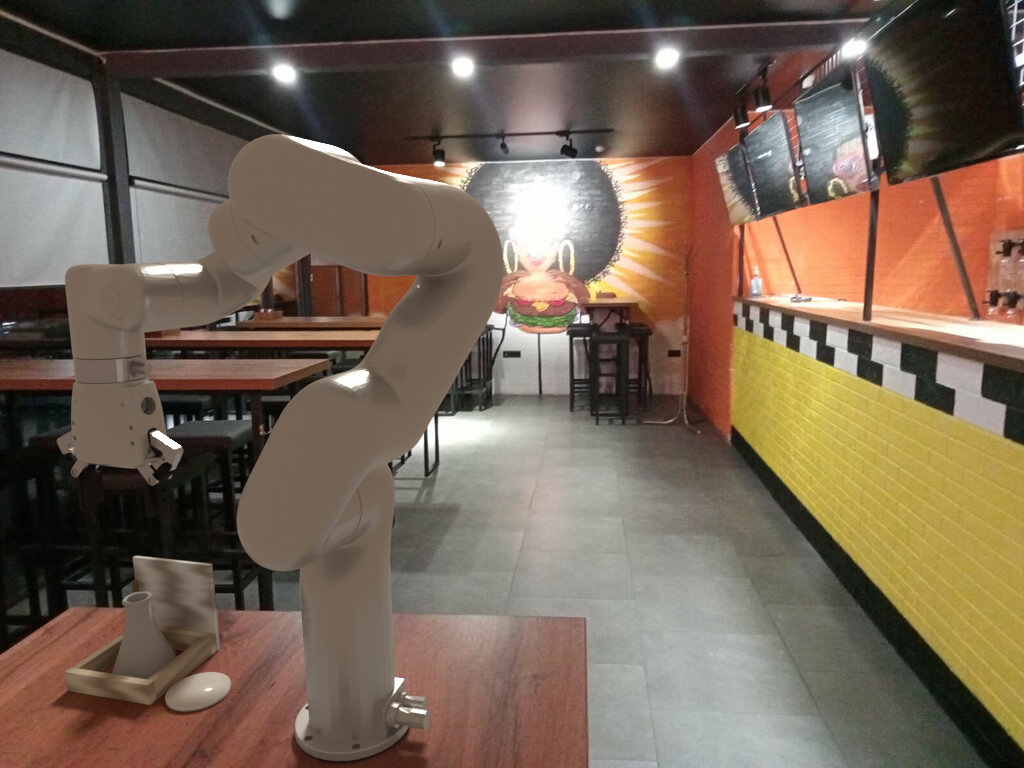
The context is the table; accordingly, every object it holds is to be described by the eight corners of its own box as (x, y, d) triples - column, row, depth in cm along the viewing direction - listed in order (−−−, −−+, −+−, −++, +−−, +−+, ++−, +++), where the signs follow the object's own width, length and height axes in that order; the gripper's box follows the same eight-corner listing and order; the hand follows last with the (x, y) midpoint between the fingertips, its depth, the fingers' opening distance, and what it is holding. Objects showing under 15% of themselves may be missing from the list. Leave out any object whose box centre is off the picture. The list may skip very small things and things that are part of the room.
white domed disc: (243, 680, 88) (243, 676, 88) (204, 715, 82) (204, 711, 81) (193, 672, 90) (193, 668, 90) (151, 706, 83) (151, 702, 83)
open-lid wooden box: (220, 648, 96) (212, 563, 94) (149, 704, 84) (139, 609, 82) (145, 637, 99) (135, 555, 97) (67, 690, 87) (54, 598, 85)
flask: (150, 690, 87) (142, 613, 85) (99, 684, 88) (89, 608, 86) (188, 657, 94) (181, 586, 92) (140, 652, 95) (132, 582, 93)
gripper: (196, 369, 85) (206, 506, 89) (78, 362, 90) (92, 493, 93) (149, 379, 78) (161, 528, 81) (24, 372, 83) (41, 513, 86)
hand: (124, 509), depth 87 cm, fingers open, 9 cm apart
